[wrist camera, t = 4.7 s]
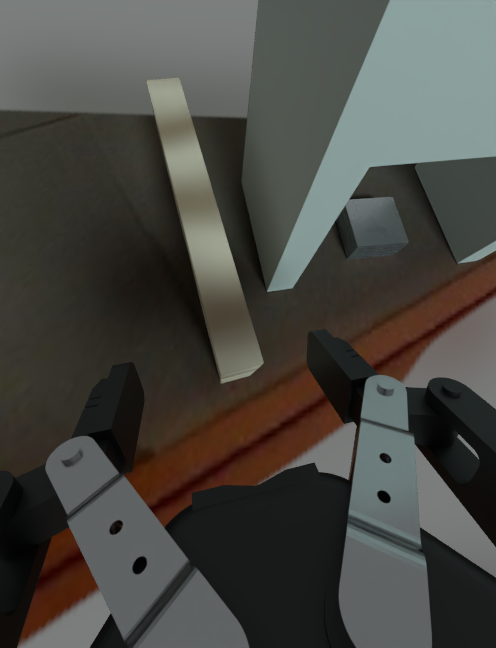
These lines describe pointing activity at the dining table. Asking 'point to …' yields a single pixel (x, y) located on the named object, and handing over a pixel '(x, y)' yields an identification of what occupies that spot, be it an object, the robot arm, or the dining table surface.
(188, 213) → the beech blade
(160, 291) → the dining table surface
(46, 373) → the dining table surface
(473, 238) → the desk
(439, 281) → the dining table surface
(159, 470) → the dining table surface
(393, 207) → the block
